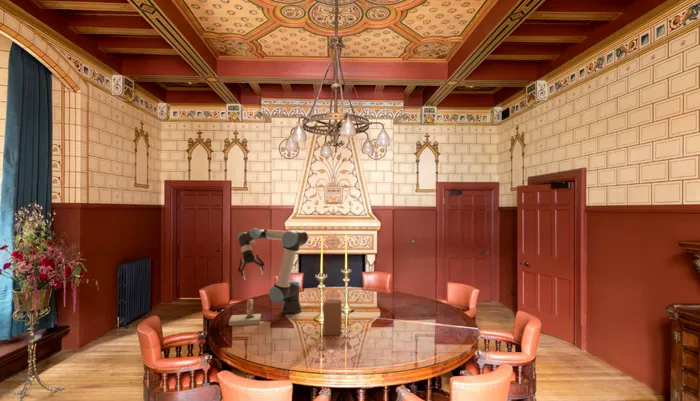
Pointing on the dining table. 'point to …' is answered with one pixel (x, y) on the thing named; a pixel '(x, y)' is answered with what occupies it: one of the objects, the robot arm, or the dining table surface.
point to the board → (244, 320)
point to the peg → (249, 308)
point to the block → (332, 317)
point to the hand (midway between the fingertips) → (254, 277)
